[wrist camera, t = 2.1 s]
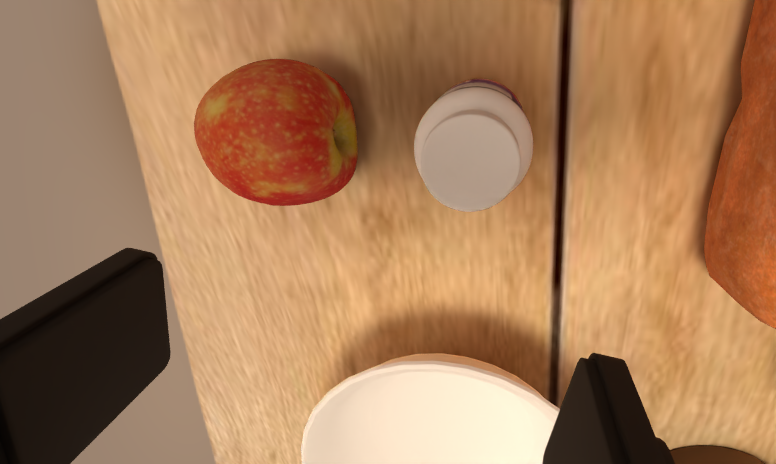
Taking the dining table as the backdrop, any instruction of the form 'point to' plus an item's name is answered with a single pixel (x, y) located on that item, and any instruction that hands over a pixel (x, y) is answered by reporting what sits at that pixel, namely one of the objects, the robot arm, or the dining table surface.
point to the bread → (749, 181)
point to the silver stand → (712, 456)
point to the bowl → (430, 416)
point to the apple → (278, 133)
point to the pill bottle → (473, 145)
